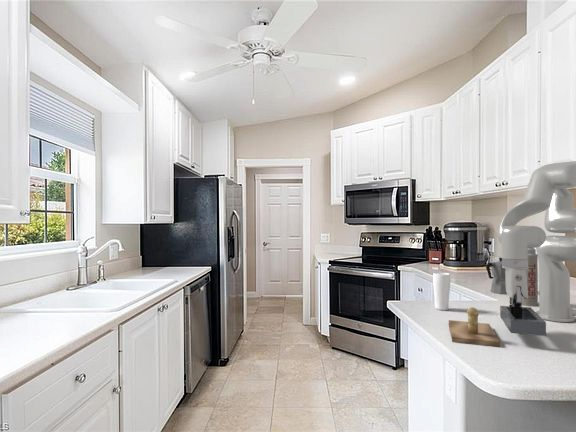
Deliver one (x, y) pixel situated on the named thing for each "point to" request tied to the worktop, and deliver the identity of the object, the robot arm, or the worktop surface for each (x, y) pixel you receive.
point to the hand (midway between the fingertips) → (515, 317)
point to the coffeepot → (497, 277)
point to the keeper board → (470, 338)
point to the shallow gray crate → (523, 321)
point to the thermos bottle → (532, 279)
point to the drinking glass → (441, 290)
